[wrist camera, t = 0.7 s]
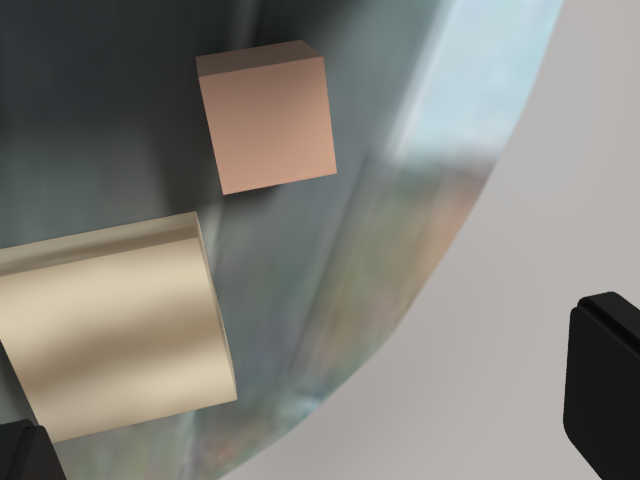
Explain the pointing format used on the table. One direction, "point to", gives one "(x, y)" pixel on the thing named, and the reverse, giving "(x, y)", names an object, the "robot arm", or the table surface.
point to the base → (115, 326)
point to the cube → (267, 115)
